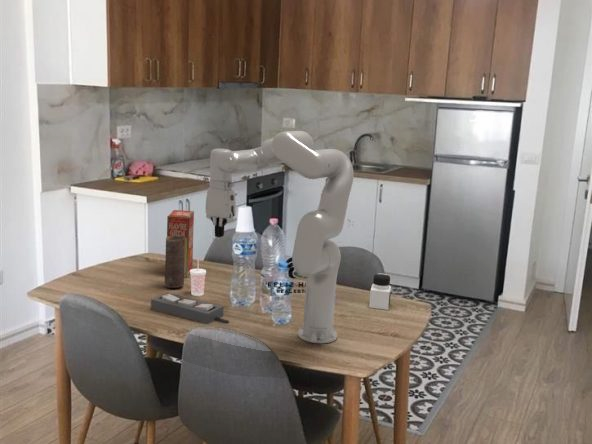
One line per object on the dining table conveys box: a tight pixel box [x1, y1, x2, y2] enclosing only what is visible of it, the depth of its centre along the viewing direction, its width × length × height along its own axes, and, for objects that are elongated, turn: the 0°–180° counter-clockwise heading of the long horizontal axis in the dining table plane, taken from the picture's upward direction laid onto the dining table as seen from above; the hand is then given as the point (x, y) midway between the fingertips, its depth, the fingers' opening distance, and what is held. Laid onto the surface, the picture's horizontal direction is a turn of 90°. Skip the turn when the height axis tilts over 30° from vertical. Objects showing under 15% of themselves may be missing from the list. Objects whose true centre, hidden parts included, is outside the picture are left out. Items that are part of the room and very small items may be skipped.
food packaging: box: [166, 209, 195, 279], centre depth 264 cm, size 13×9×25 cm
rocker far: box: [162, 293, 180, 302], centre depth 224 cm, size 5×4×1 cm
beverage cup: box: [189, 257, 207, 297], centre depth 240 cm, size 6×6×14 cm
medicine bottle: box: [368, 273, 392, 311], centre depth 238 cm, size 7×7×12 cm
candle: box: [164, 235, 185, 289], centre depth 246 cm, size 8×7×20 cm
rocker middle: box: [178, 299, 196, 306], centre depth 221 cm, size 5×4×1 cm
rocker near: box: [195, 303, 214, 311], centre depth 218 cm, size 5×4×1 cm
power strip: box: [150, 292, 230, 325], centre depth 221 cm, size 29×9×4 cm, turn 62°
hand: (219, 236), depth 226 cm, fingers closed
